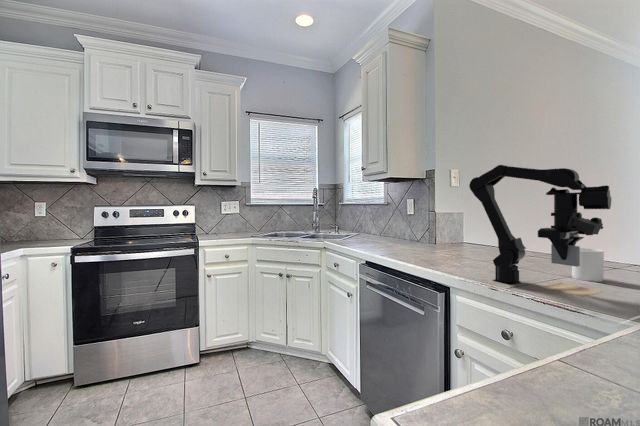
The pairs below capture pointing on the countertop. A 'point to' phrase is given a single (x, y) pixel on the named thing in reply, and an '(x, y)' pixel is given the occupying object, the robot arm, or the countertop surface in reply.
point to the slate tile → (571, 258)
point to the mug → (590, 265)
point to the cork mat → (572, 289)
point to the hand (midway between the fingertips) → (565, 259)
